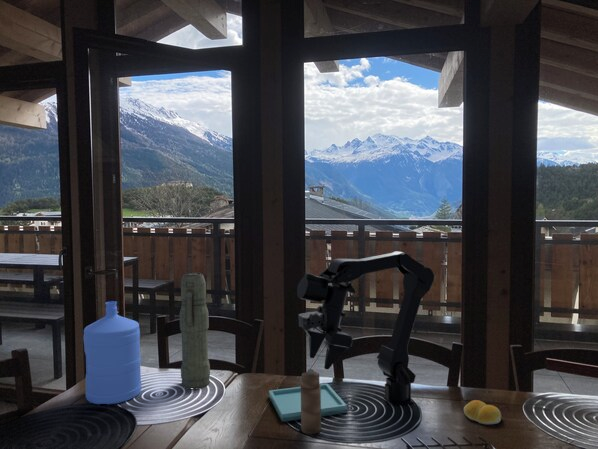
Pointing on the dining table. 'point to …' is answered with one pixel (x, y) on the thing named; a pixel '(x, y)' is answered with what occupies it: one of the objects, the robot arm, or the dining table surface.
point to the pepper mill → (310, 403)
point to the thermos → (194, 332)
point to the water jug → (112, 358)
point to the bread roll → (482, 412)
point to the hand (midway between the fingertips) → (318, 363)
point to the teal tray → (290, 402)
